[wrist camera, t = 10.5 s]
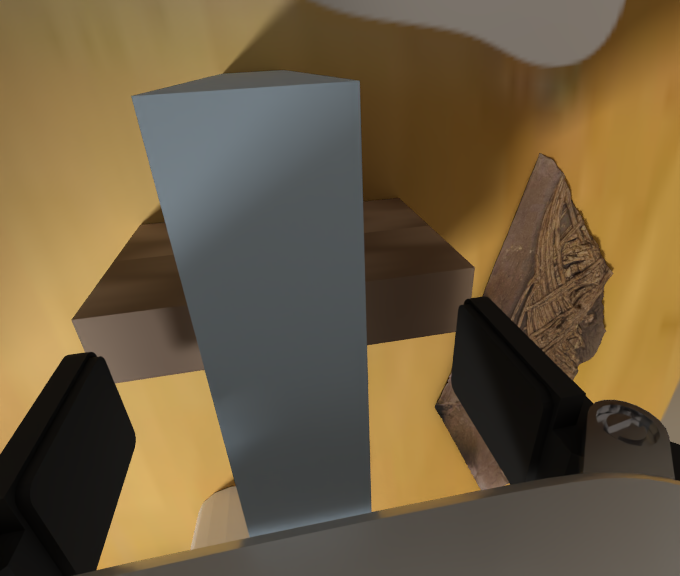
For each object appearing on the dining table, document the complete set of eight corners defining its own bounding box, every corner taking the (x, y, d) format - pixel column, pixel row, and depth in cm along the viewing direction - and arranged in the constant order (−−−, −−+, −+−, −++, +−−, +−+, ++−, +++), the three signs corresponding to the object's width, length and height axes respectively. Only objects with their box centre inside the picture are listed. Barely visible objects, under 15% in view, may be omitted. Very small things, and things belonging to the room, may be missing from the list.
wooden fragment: (547, 476, 34) (555, 487, 33) (419, 498, 32) (424, 511, 31) (657, 148, 22) (674, 152, 21) (460, 158, 20) (470, 162, 19)
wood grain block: (154, 272, 20) (99, 385, 13) (140, 224, 19) (71, 320, 12) (398, 243, 21) (467, 329, 14) (398, 197, 20) (474, 267, 13)
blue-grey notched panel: (222, 73, 16) (130, 95, 4) (283, 69, 17) (359, 80, 5) (269, 356, 23) (287, 677, 11) (312, 349, 23) (375, 654, 11)
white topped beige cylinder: (279, 468, 28) (286, 582, 21) (298, 528, 31) (309, 641, 25) (174, 494, 27) (151, 619, 21) (205, 552, 30) (193, 674, 24)
